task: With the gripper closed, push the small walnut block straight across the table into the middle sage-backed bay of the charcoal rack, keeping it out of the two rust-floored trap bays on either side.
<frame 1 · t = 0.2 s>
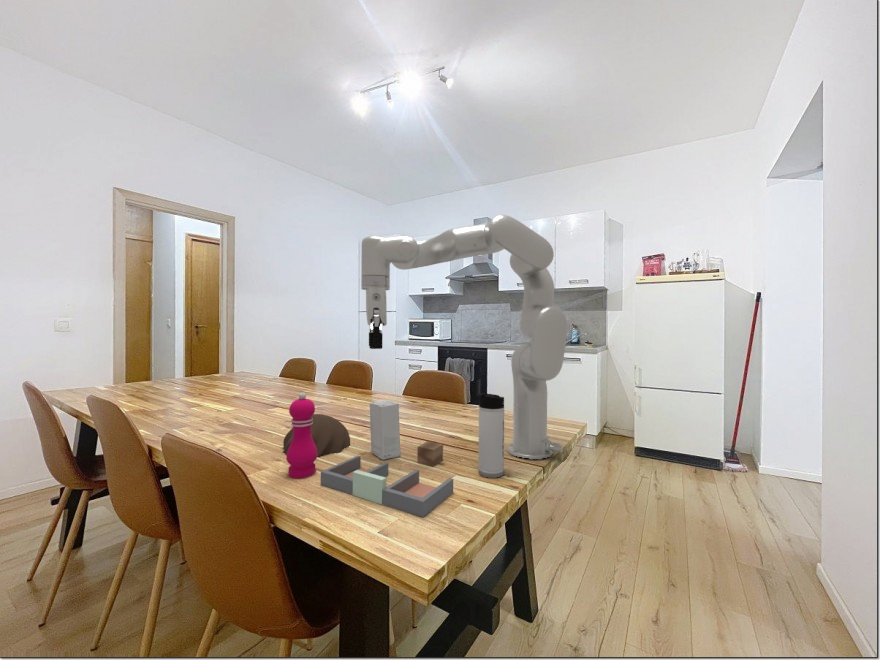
hand: (375, 347, 99), 31 cm above the table, tool pointing down, fingers open, 9 cm apart
decorative dome: (317, 447, 111), on the table
travel mug: (490, 474, 91), on the table
skincare box: (384, 455, 104), on the table
pepper mill: (302, 474, 90), on the table
bay rack: (385, 488, 82), on the table
walnut block: (430, 462, 99), on the table
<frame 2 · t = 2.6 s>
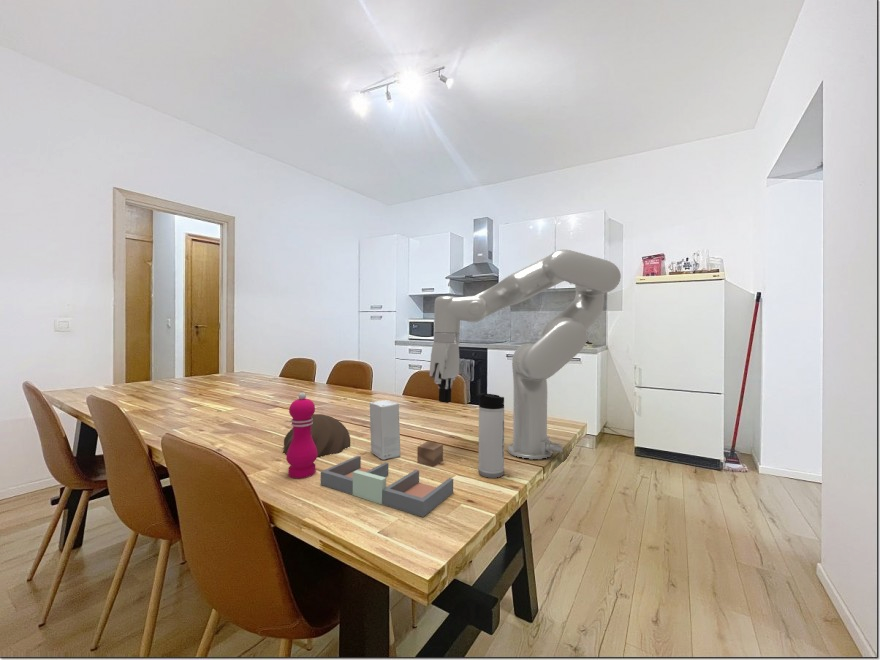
hand: (444, 401, 106), 15 cm above the table, tool pointing down, fingers closed
nothing on the table moved.
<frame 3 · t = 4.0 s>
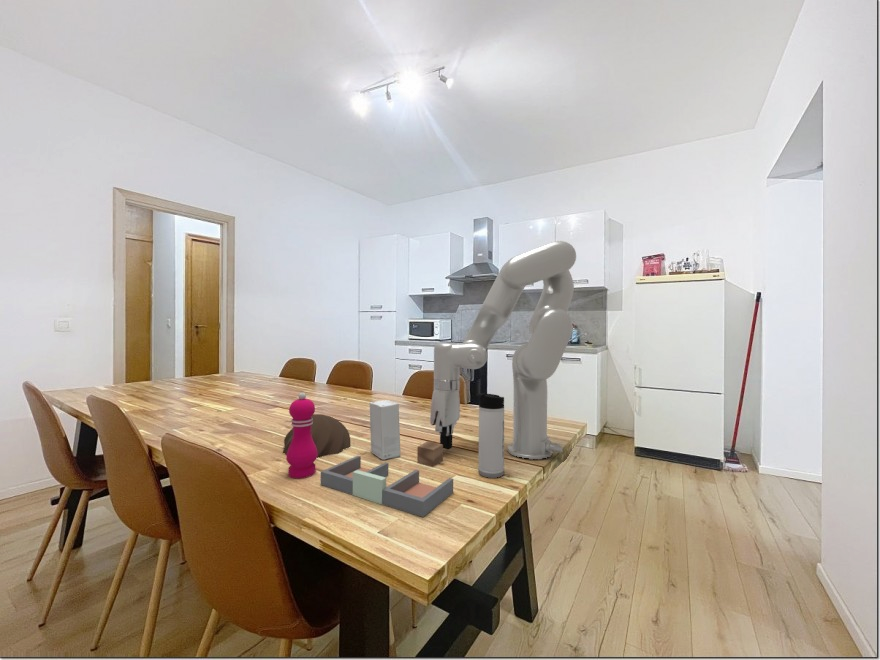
hand: (446, 448, 106), 1 cm above the table, tool pointing down, fingers closed
nothing on the table moved.
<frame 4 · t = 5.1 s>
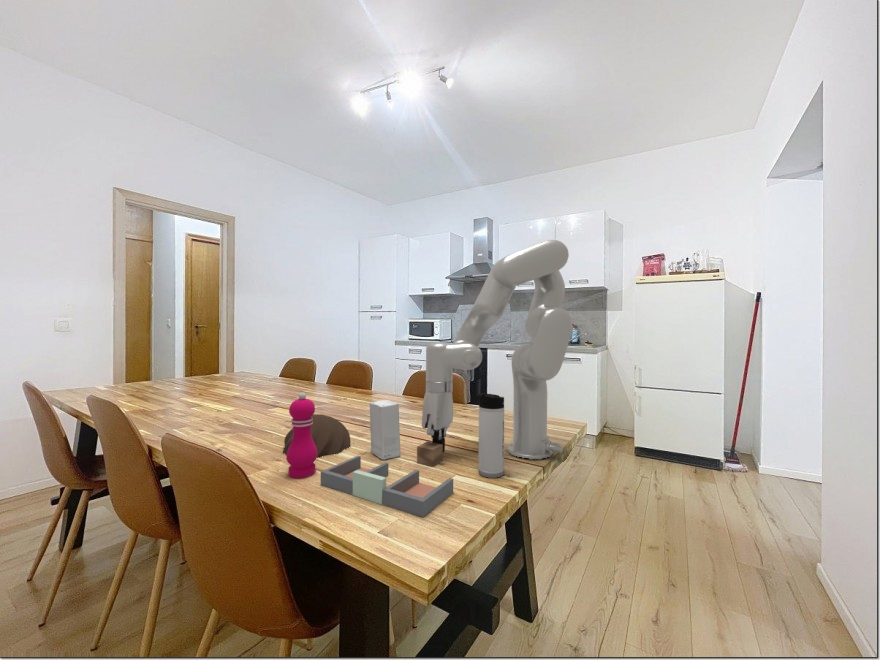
hand: (438, 451, 103), 1 cm above the table, tool pointing down, fingers closed
walnut block: (429, 462, 99), on the table, touching gripper
everything else where it was.
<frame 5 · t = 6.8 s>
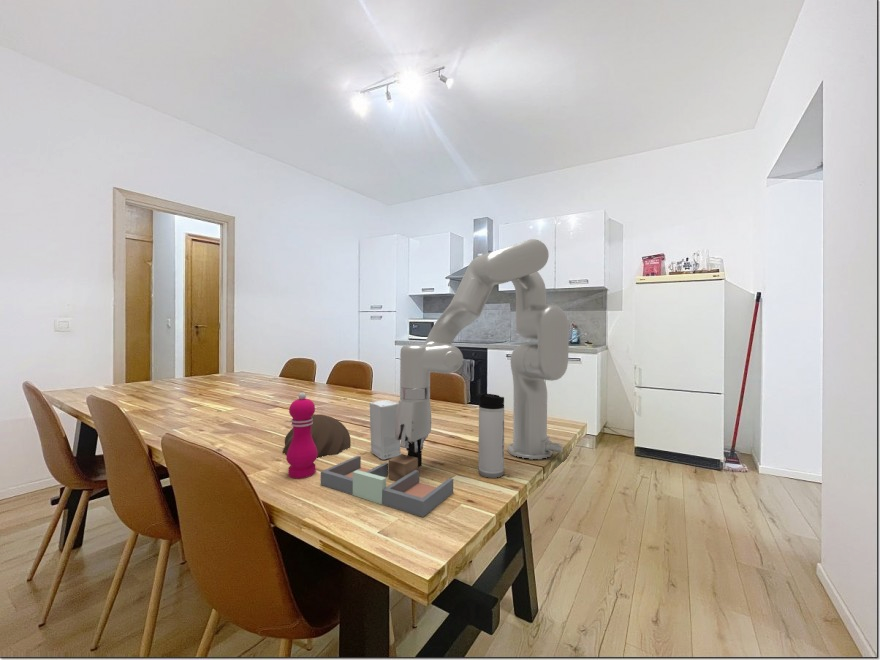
hand: (414, 465, 92), 1 cm above the table, tool pointing down, fingers closed
walnut block: (403, 477, 88), on the table, touching gripper
everything else where it was.
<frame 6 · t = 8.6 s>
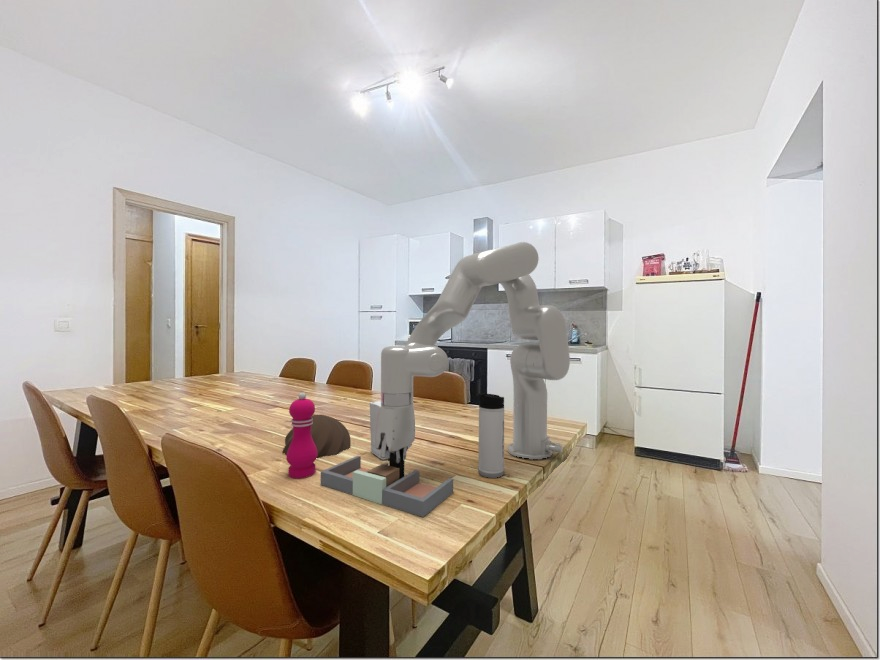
hand: (396, 477, 86), 1 cm above the table, tool pointing down, fingers closed
walnut block: (383, 489, 82), resting in bay rack, touching gripper
everything else where it was.
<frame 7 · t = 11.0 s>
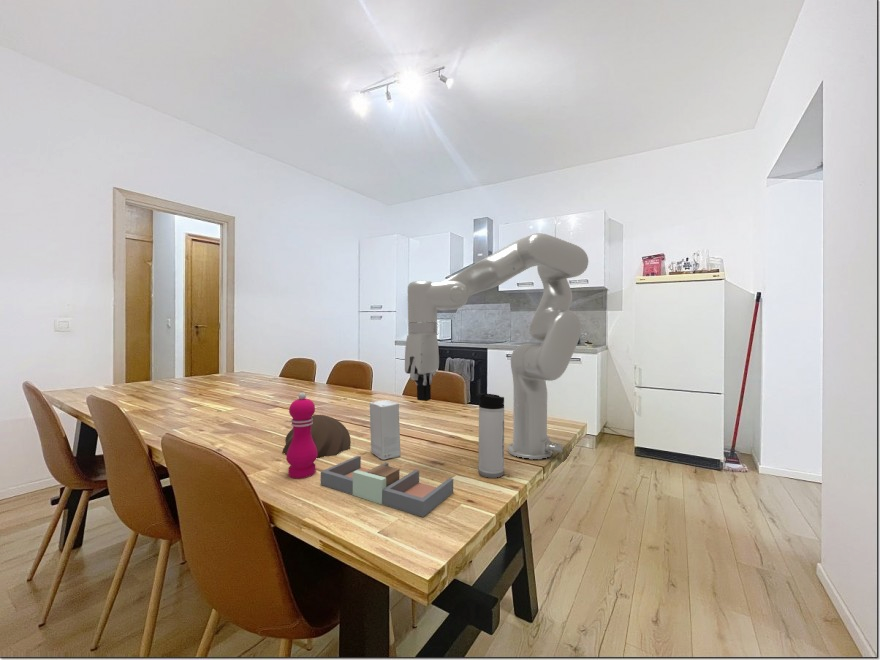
hand: (424, 399, 95), 17 cm above the table, tool pointing down, fingers closed
walnut block: (383, 490, 82), resting in bay rack
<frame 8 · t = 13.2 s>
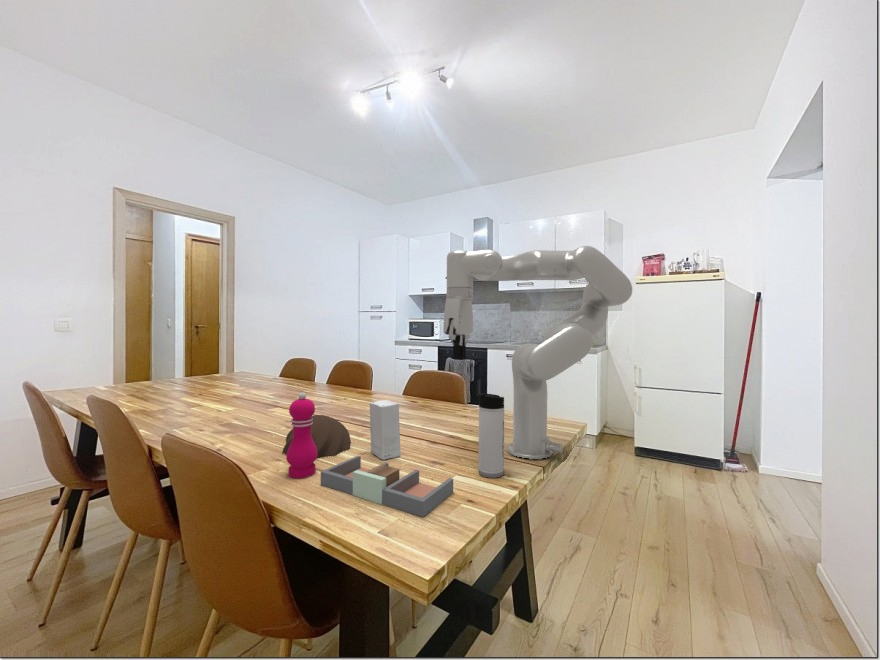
hand: (459, 359, 104), 27 cm above the table, tool pointing down, fingers closed
at the end: walnut block inside the target area (1.0 cm from its centre), resting in bay rack; walnut block tilted 0° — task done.
